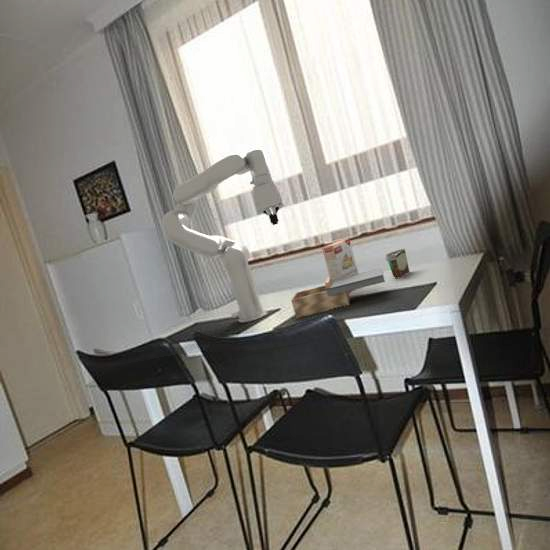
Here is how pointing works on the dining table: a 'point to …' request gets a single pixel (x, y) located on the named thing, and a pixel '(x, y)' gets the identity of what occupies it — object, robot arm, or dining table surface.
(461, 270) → the dining table surface
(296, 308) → the box
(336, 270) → the cracker box
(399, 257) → the food container
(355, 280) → the lid
